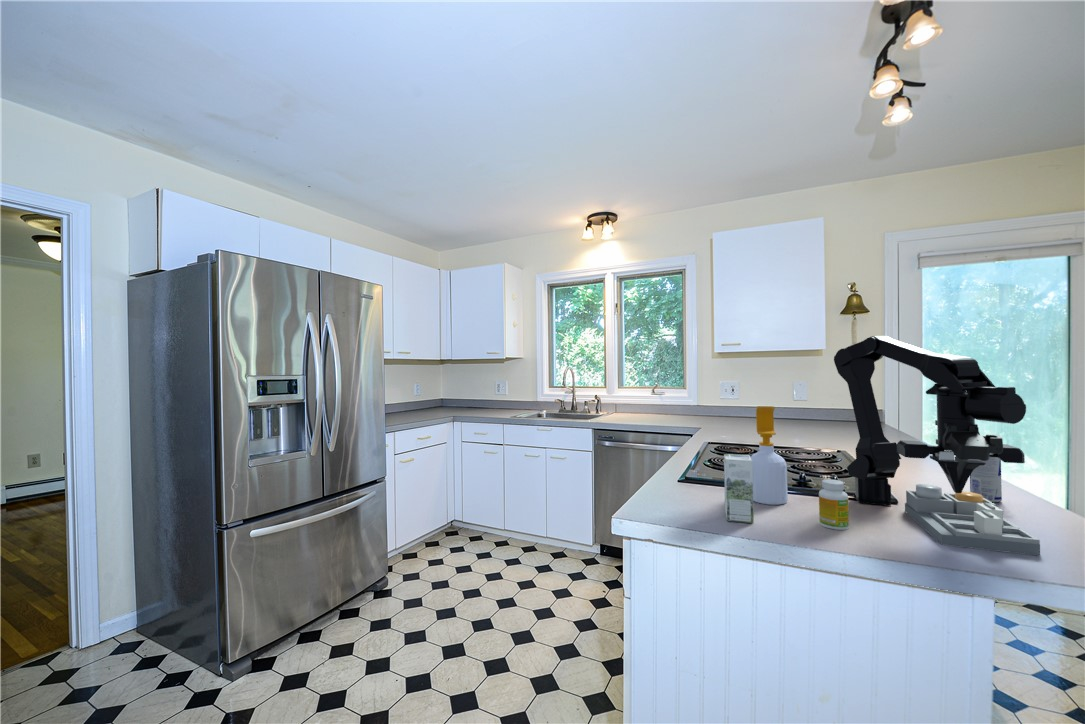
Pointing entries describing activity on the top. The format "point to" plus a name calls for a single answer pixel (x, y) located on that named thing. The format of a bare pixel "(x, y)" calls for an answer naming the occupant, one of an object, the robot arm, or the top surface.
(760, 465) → the soap bottle
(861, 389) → the robot arm
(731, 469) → the syrup box
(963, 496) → the button
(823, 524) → the supplement bottle
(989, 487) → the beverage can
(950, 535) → the panel
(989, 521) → the slider
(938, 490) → the button
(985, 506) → the slider
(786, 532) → the top surface
